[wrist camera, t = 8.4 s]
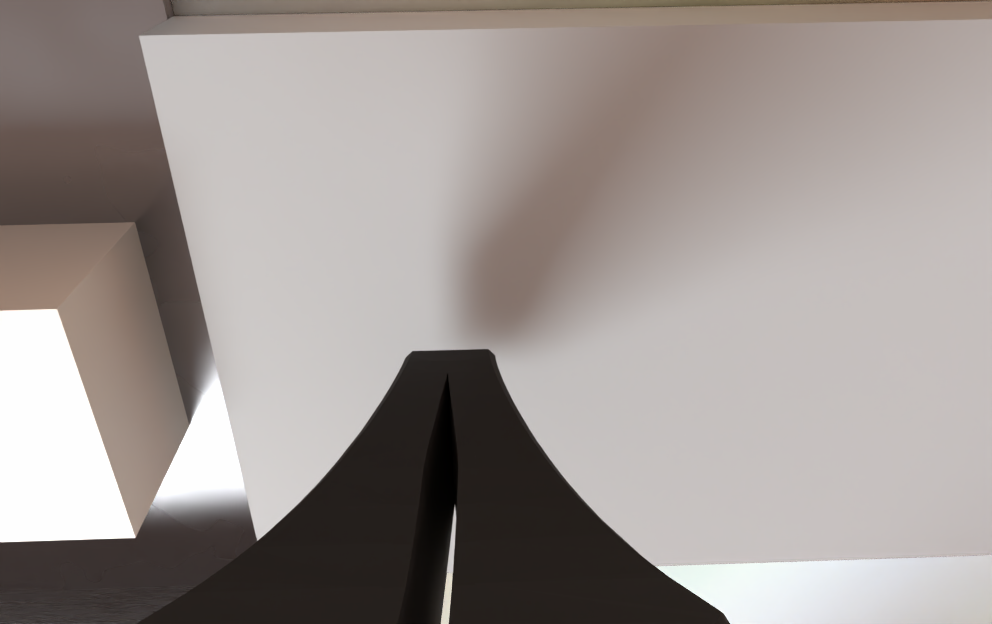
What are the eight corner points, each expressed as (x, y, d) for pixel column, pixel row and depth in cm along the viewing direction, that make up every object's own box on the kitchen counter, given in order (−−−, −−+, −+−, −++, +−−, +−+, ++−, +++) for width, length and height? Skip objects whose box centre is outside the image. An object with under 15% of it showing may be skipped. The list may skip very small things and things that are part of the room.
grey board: (1180, -3, 13) (1262, 14, 11) (975, 503, 18) (1014, 554, 17) (173, 16, 12) (138, 35, 11) (280, 526, 18) (266, 579, 16)
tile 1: (134, 222, 14) (57, 309, 11) (189, 425, 16) (135, 537, 13) (-128, 228, 14) (-269, 317, 11) (-35, 432, 16) (-134, 546, 13)
